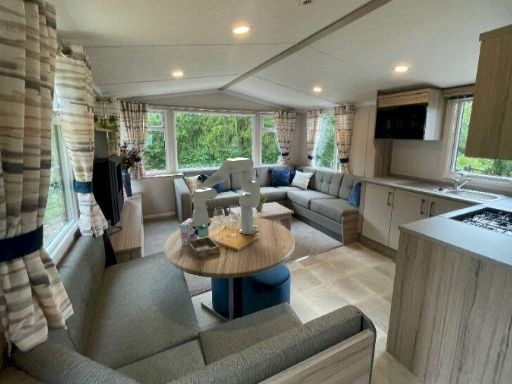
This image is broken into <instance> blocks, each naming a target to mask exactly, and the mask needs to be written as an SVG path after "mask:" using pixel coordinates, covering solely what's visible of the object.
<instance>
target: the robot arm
mask: <svg viewBox="0 0 512 384" xmlns="http://www.w3.org/2000/svg"><path fill="white" fill-rule="evenodd" d="M254 166H255V163H254V160H253V159H251V158H248V157H247V158H246V157H236V158H227V159H225V160H224V161H223V162H222V164H221V165H220V166H219V168H218V169H217V170H216V172H215V173H214V174H212V175H210V176H209V177H208V178H207V179H205V180H204V181H203V182H202V183H201V185H200V187H199V188H198V189H195V190H193V191H192V197H193V209H194V210H192V219H193V221H192V222H191V224H190V227H192V228H193V229H195V234H196V235H197V237H199V236H198V230H197V228H198V226H200V225H205V226H206V227H207V228H208V229H209V227H210V225H211V224H212V223H213V220H212V219H211V218H209V217H210V216H209V214H208V209H207V208H208V205H206V204H207V203H206V201H207V200H209V201H211V200H214V199H215V198H217V196H218V191H217V190H216V189H215V188H213V187H214V186H216V185H218V184H221V183H224V182H226V181H227V179H228V178H229V176H230V175H231V173H232V172H239V173H240V189H241V191H242V192H243V193H242V194H240V195H239V197H238V202H239V207H240V227H241V229H239V232H240V231H242V232H243V233H244V234H250V235H252V234H253V235H254V234H255V233H256V229H258V228H259V225H255V224H254V210H253V209H256V208H258V207H259V205H260V203H261V186H260V183H259V182H258V181H256V180H253V177H252V169H253V168H254ZM193 224H194V225H195V227H194V226H193ZM244 234H243V235H244Z"/></svg>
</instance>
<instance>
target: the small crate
mask: <svg viewBox="0 0 512 384" xmlns="http://www.w3.org/2000/svg"><path fill="white" fill-rule="evenodd" d="M197 230H198V236H197V237H198V238H199V239H200V238H204V237H208V236H209V237H210V232H209V227H208V228H207V227H206V226H205V225H200V226H198V228H197Z"/></svg>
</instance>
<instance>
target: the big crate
mask: <svg viewBox="0 0 512 384" xmlns="http://www.w3.org/2000/svg"><path fill="white" fill-rule="evenodd" d="M187 244H188V246H187V250H189V252H190V251H191V252H190V253H191V254H192V255H194V256H193V257H194V258H195V260H196V259H197V260H201V259H204V258H208V257H211V256H215V255H219V254H221V247H220V245H219V244H218V243H217V242H215V240H214V239H212V238H211V237H210V235H209V236H206V237H202V238H200V237H199V238H197V239H195V240H191V241H187Z"/></svg>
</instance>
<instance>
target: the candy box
mask: <svg viewBox="0 0 512 384" xmlns="http://www.w3.org/2000/svg"><path fill="white" fill-rule="evenodd" d="M192 221H193V217H190V218H187V219H186V220H184V221H183V222H182V223H180V224H179V228H180V229H179V230H180V238H181V239H180V240H181V246H184V247H188V244H187V241H191V240H195V239H198V236H197V235H196V234H195V229H193V228H192V227H190V224H191V222H192ZM193 226H194V227H195V225H194V224H193Z"/></svg>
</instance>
